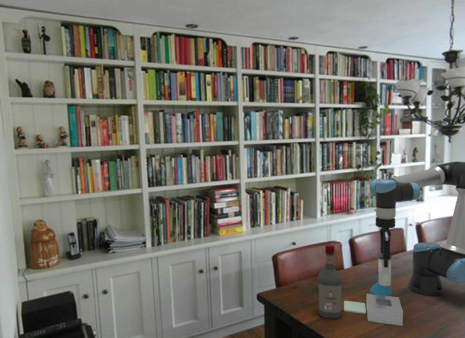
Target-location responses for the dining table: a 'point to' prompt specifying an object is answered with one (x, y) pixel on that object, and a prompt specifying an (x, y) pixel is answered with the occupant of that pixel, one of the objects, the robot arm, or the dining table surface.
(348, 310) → the mat
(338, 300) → the liquor
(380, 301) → the housing
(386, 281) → the salt shaker
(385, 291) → the perfume bottle
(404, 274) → the dining table surface
